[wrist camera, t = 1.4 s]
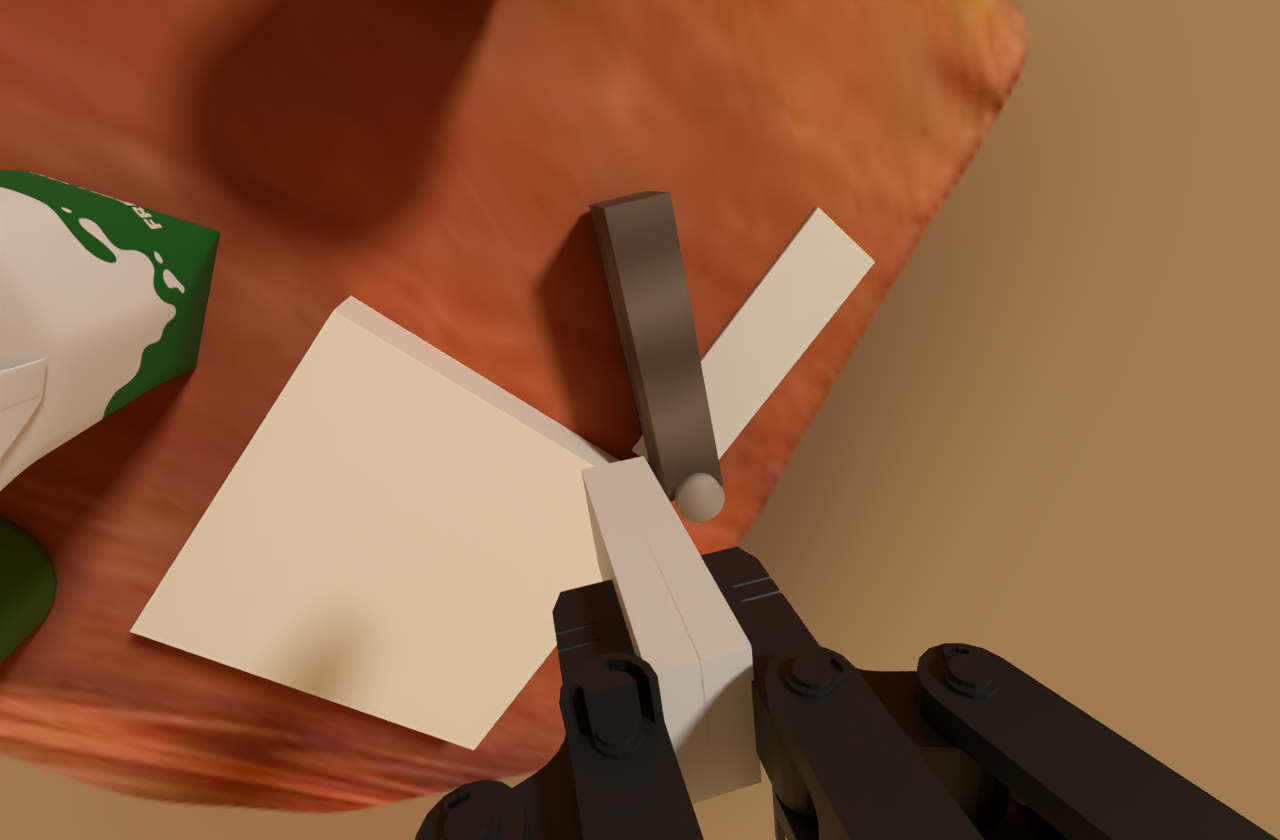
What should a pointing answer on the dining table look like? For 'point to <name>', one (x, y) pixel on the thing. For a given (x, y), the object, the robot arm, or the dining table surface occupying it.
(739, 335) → the mat
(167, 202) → the dining table surface
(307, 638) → the cream flat square box
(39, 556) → the wine bottle
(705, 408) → the dark grey block
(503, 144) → the dining table surface
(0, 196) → the milk carton
